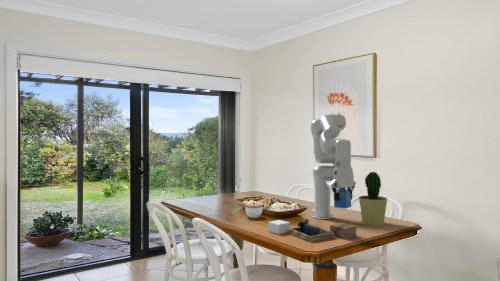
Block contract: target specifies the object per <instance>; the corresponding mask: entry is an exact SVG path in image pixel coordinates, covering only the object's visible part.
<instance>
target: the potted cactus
mask: <svg viewBox="0 0 500 281" xmlns="http://www.w3.org/2000/svg"><path fill="white" fill-rule="evenodd" d="M365 175H366V176H365V177H364V185H365V187H366V188H365V189H366V194H367V195H359V196H358V200H359V207H360V213H361V214H360V215H361V222H362V224H363V225H366V226H372V227H373V226H374V227H380V226H384V223H385V217H386V216H385V215H386V210H387V203H388V197H386V196H380V192H381V190H382V189H383V187H382V183H381V182H382V181H383V180H382V179H381V177H382V176H381V175H379V174H378V172H377V171H370V172H368V174H367V173H366V174H365ZM380 189H381V190H380Z"/></svg>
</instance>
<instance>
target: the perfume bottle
mask: <svg viewBox="0 0 500 281" xmlns="http://www.w3.org/2000/svg"><path fill="white" fill-rule="evenodd" d="M338 193H339V201H336V200H334V199H333V208H336V209H337V208H338V209H349V208H352V199H351V193H350V192H349V190H348V189H347V188H340V189H339V191H338Z"/></svg>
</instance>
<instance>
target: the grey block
mask: <svg viewBox="0 0 500 281" xmlns="http://www.w3.org/2000/svg"><path fill="white" fill-rule="evenodd" d="M267 227H268V228H267V232H269V231H270V233H273V234H277V235H281V234H285V233H288V229H289V228H291V222H289V221H285V220H281V219H278V220H277V219H276V220H271V221H268V222H267Z"/></svg>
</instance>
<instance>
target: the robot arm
mask: <svg viewBox="0 0 500 281" xmlns="http://www.w3.org/2000/svg"><path fill="white" fill-rule="evenodd" d="M346 127H347V120H346V117H345V116H344V115H343V114H324V115H323V116H321V117H320V118H319V119H315V120H312V121H311V123H310V132H311V135H312V138H313V141H314V159H315V162H316V163H318V164H326V165H318V166H315V167H314V168H313V170H312V176H313V182H314V184H313V186H314V208H313V209H311V212H313V214H311V216H312V218H313V219H317V220H330V219H333V218H334V215H333V214H331V192H333V201H334V200H336V201H339V193H338V191H339V189H340V188H346V189H348V190H349V192H350V193H351V200H353V192H354V190H355V187H356V184H357V182H356V180H355V178H354V170H353V167H352V144H351V140H349V139H342V138H341V139H339V138H338V137H339V136H340V132H342V131H343V130H344V129H345V128H346ZM336 138H337V139H336ZM327 164H332V165H327ZM327 182H330V183H329V184H328V183H327Z"/></svg>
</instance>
